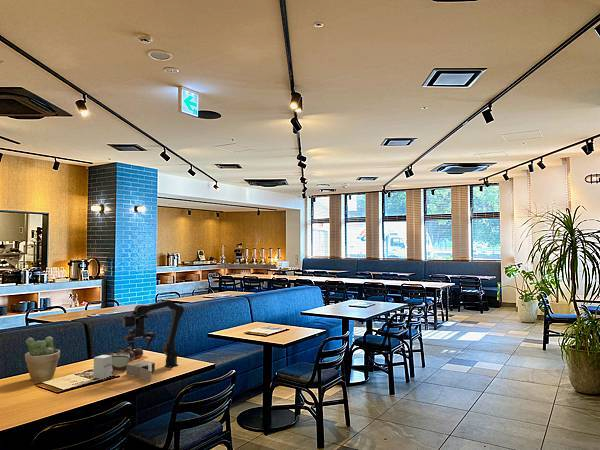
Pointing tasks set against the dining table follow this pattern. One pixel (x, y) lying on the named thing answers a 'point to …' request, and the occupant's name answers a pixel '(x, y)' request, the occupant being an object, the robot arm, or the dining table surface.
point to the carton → (134, 367)
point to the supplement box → (102, 366)
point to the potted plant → (41, 359)
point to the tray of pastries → (133, 354)
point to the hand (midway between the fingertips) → (139, 350)
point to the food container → (120, 361)
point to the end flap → (146, 372)
